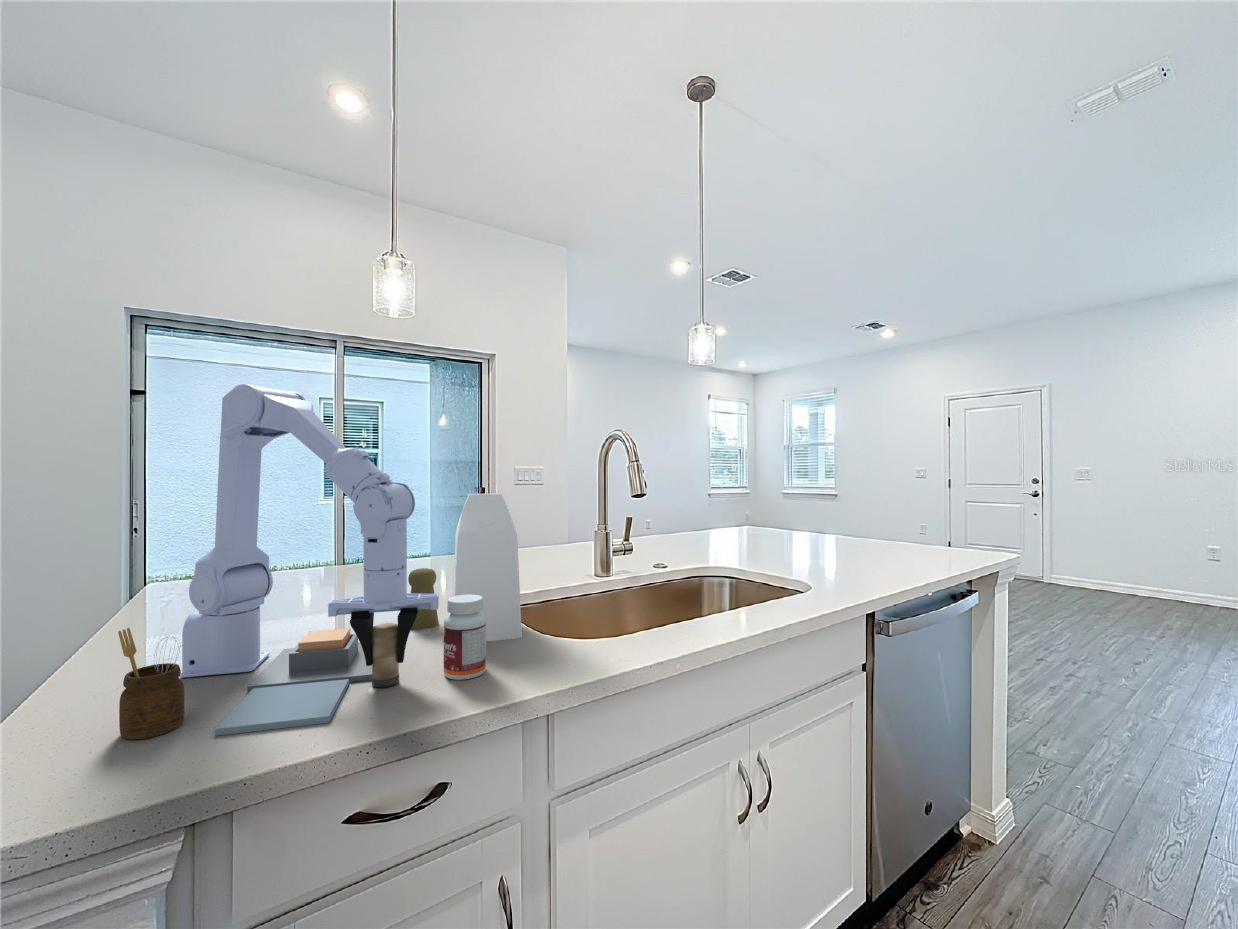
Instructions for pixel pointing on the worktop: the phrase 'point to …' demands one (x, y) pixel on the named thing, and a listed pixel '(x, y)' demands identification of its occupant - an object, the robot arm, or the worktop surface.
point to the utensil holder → (150, 696)
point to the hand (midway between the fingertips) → (385, 662)
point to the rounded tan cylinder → (385, 655)
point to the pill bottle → (464, 638)
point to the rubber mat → (284, 707)
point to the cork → (423, 584)
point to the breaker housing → (315, 666)
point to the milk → (489, 563)
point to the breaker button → (324, 640)
